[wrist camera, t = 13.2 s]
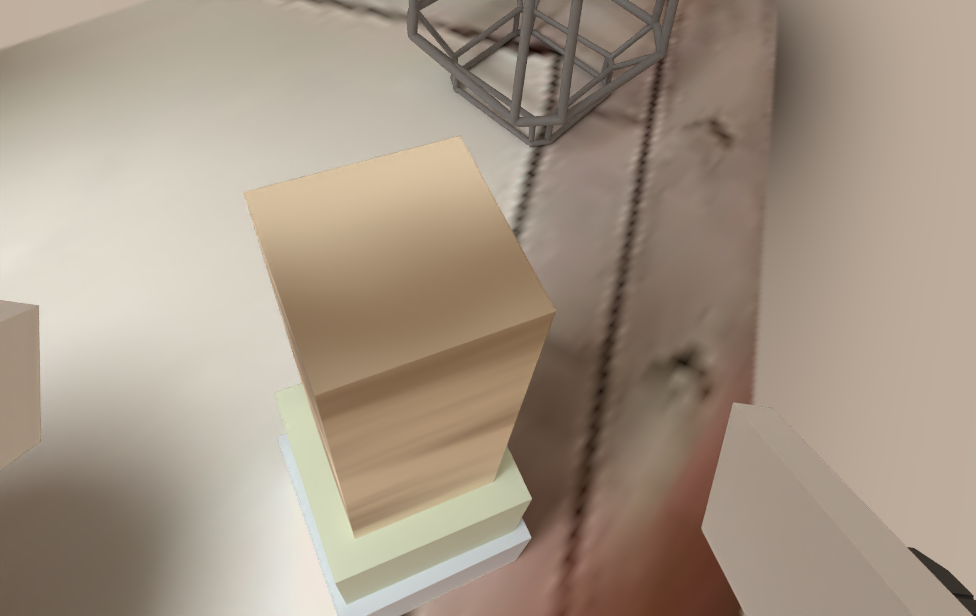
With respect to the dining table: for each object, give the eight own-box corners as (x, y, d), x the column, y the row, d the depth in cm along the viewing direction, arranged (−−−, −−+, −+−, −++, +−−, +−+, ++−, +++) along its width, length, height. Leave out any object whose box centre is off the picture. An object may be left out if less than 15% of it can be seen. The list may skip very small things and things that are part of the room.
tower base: (293, 472, 34) (276, 437, 30) (446, 411, 37) (452, 370, 32) (350, 639, 31) (341, 626, 27) (515, 560, 33) (531, 537, 29)
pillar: (309, 406, 26) (243, 192, 15) (439, 360, 27) (459, 135, 17) (354, 539, 24) (314, 395, 13) (493, 481, 25) (555, 310, 15)
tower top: (292, 440, 30) (273, 392, 26) (447, 383, 32) (453, 330, 28) (346, 605, 27) (335, 583, 23) (513, 531, 29) (532, 498, 25)
